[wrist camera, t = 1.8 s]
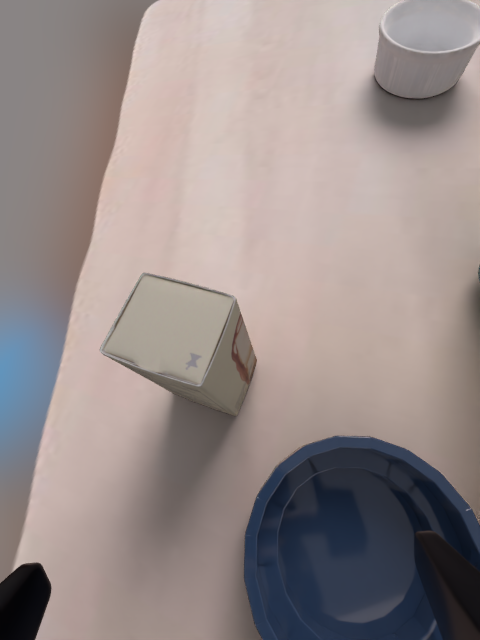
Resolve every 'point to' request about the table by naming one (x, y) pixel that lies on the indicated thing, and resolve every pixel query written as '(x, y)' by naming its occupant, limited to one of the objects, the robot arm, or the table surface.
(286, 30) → the table surface
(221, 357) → the pushpin icon carton
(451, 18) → the ramekin
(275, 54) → the table surface
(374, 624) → the dish
